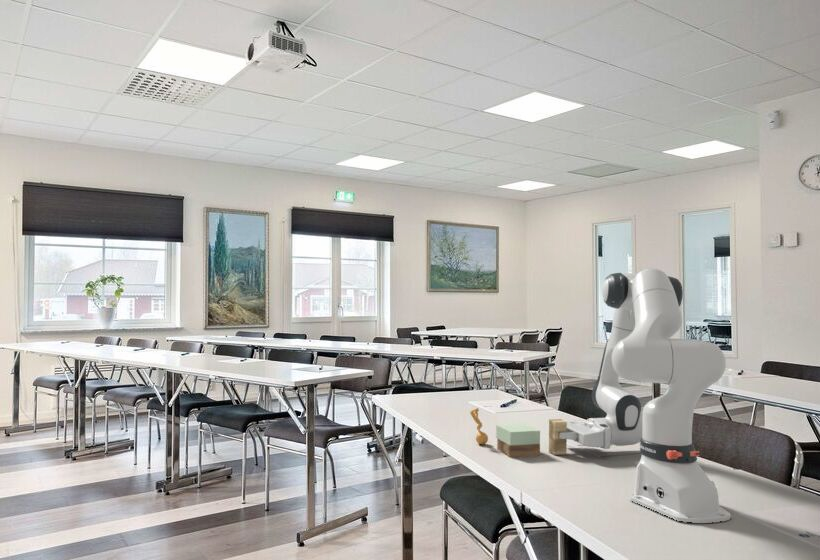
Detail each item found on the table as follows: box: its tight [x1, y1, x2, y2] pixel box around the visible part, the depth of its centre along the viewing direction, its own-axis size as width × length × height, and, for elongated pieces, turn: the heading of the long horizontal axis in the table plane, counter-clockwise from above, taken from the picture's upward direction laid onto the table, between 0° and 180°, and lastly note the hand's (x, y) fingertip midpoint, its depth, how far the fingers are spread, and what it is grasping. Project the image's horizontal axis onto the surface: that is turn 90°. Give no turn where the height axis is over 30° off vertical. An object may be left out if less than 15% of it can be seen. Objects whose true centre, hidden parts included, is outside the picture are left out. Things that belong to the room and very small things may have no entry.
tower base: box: [496, 438, 541, 458], centre depth 186 cm, size 10×10×4 cm
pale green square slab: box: [495, 423, 541, 445], centre depth 186 cm, size 10×10×4 cm
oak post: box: [548, 418, 568, 456], centre depth 186 cm, size 4×4×10 cm
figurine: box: [469, 407, 489, 446], centre depth 195 cm, size 8×6×12 cm
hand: (555, 433), depth 186 cm, fingers closed on oak post, 4 cm apart
